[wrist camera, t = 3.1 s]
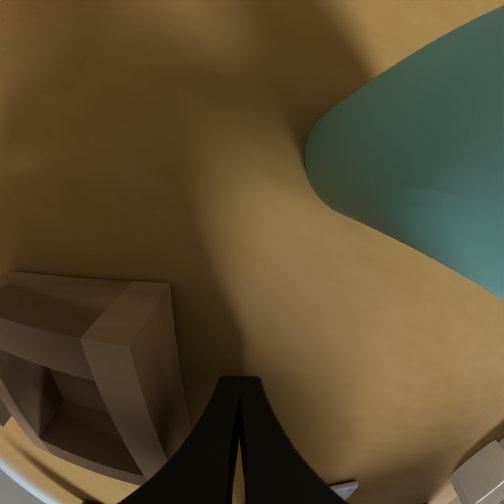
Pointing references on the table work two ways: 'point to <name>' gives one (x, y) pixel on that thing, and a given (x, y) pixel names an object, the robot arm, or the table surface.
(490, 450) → the toilet paper
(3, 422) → the rail
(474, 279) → the dowel
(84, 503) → the supplement bottle
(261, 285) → the table surface
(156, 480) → the robot arm
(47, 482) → the table surface
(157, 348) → the square wooden box
